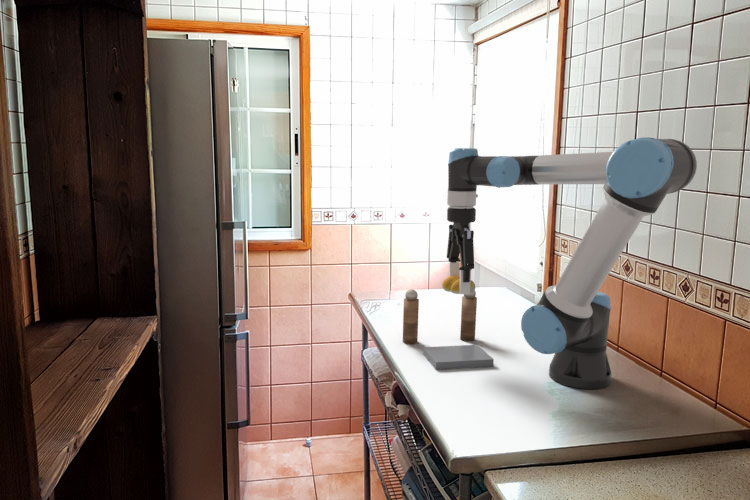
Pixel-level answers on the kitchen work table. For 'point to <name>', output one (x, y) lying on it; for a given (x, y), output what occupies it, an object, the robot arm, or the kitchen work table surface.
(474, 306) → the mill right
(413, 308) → the mill left
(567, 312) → the robot arm
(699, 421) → the kitchen work table surface
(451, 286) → the bread roll
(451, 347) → the slate board
